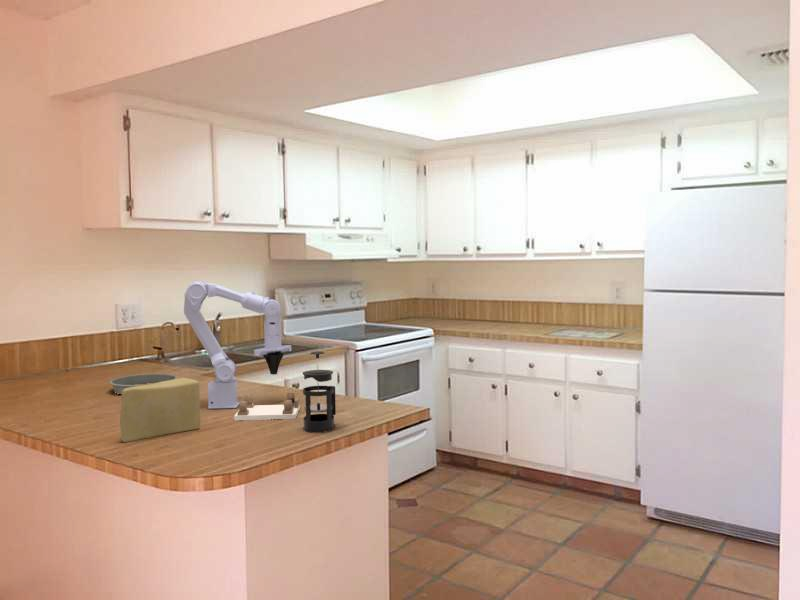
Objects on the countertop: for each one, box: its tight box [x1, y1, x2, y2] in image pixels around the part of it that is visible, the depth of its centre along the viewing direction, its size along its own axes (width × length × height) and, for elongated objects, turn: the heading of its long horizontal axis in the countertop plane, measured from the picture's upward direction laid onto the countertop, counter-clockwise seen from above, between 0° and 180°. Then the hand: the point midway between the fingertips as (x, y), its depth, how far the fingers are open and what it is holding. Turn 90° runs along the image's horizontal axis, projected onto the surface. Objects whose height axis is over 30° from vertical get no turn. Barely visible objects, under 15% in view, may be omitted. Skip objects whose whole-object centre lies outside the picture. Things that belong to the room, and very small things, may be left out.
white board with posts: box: [233, 393, 301, 422], centre depth 213 cm, size 19×14×6 cm
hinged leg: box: [286, 392, 296, 409], centre depth 216 cm, size 8×2×4 cm, turn 5°
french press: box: [302, 350, 337, 433], centre depth 195 cm, size 12×9×23 cm
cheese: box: [119, 377, 201, 443], centre depth 191 cm, size 22×10×15 cm, turn 138°
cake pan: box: [109, 373, 179, 394], centre depth 256 cm, size 25×25×4 cm
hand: (273, 374), depth 228 cm, fingers closed
